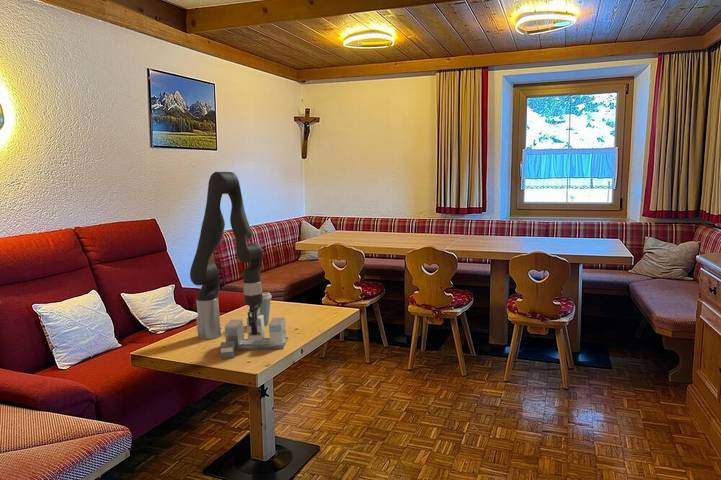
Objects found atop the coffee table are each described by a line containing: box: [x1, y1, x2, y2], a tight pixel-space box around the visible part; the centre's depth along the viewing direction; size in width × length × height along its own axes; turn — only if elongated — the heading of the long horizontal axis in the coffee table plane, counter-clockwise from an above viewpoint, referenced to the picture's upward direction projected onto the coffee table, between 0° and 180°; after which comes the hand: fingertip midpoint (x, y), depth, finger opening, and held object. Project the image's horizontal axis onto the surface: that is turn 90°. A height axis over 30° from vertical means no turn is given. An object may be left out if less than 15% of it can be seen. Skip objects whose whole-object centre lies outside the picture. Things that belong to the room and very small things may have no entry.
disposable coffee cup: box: [260, 292, 273, 326], centre depth 254 cm, size 11×11×15 cm
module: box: [246, 315, 266, 340], centre depth 223 cm, size 6×5×9 cm
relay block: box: [219, 341, 236, 360], centre depth 212 cm, size 5×6×5 cm
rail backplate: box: [224, 317, 289, 352], centre depth 224 cm, size 24×12×10 cm, turn 89°
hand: (255, 332), depth 224 cm, fingers closed on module, 5 cm apart
